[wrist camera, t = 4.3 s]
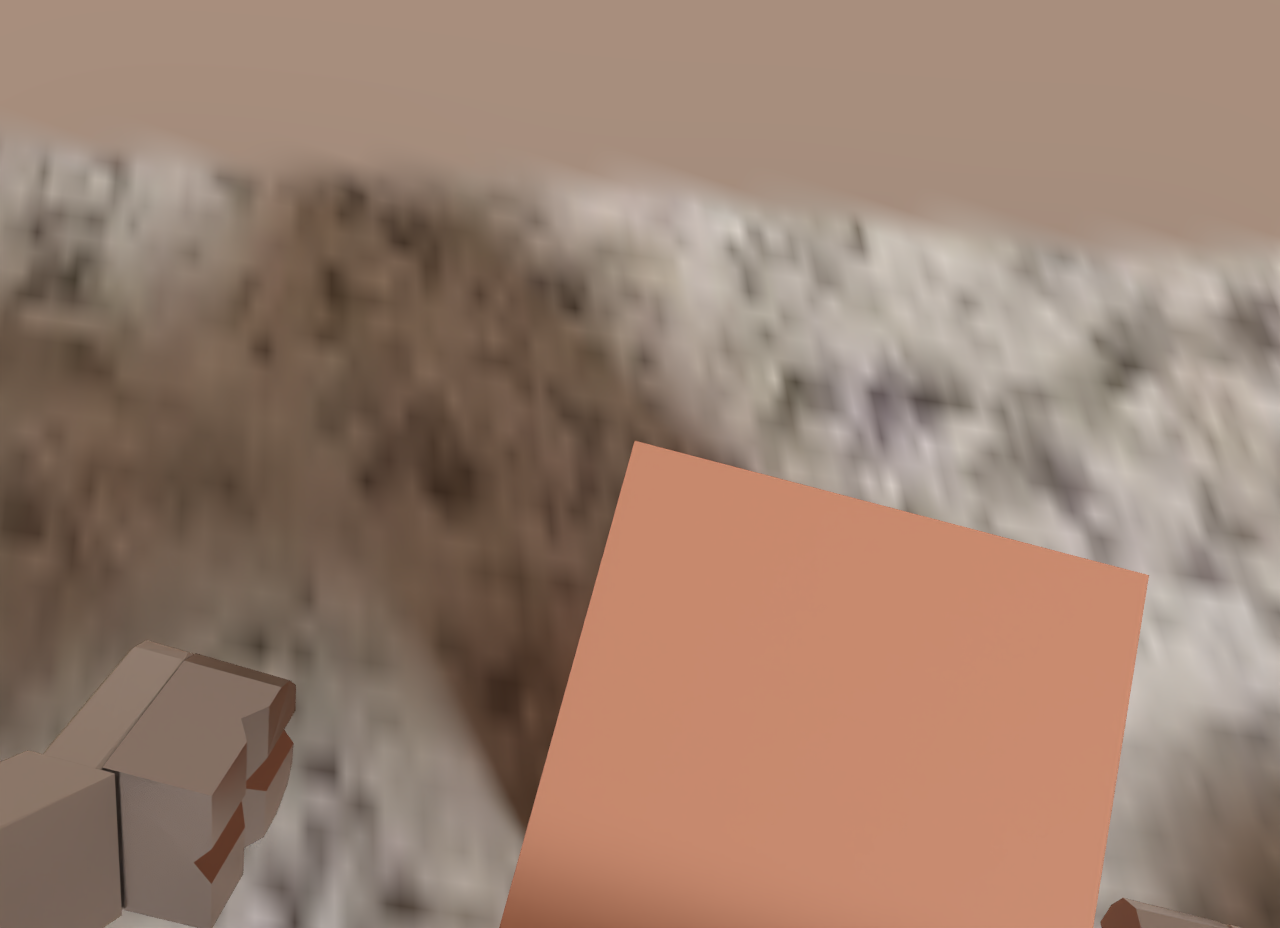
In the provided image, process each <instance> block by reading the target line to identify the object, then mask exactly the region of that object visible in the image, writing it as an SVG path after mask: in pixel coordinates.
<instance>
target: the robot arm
mask: <svg viewBox="0 0 1280 928" xmlns="http://www.w3.org/2000/svg"><path fill="white" fill-rule="evenodd" d="M295 710H296V685H295V684H294V683H293V682H291V681H290V680H287V679H283V678H280V677H276V676H273V675H269V674H266V673H262V672H259V671H256V670H252V669H249V668H245V667H242V666H238V665H235V664H231V663H228V662H224V661H221V660H217V659H214V658H211V657H207V656H204V655H200V654H197V653H195V654H193V653H190V652H186V651H183V650H179V649H176V648H172V647H169V646H165V645H162V644H159V643H155V642H152V641H148V640H146V641H144V642H142V643H141V644H139V645H137V646H135V647H134V648H132V649H131V650H130V651H129V652H128V653H127V655H126V656H125V657H124V658H123V659H122V660H121V662H120V663H119V664H118V665H117V666H116V668H115V669H114V670H113V671H112V672H111V674H110V675H109V676H108V677H107V678H106V679H105V681H104V682H103V683H102V684H101V685H100V687H99V688H98V689H97V690H96V691H95V692H94V694H93V695H92V696H91V697H90V698H89V700H88V701H87V702H86V703H85V704H84V705H83V707H82V708H81V709H80V710H79V711H78V713H77V714H76V715H75V716H74V717H73V718H72V720H71V721H70V722H69V723H68V724H67V726H66V727H65V728H64V729H63V730H62V732H61V733H60V734H59V735H58V736H57V737H56V739H55V740H54V741H53V742H52V743H51V745H50V746H49V747H48V748H47V749H46V750H45V752H44V753H43V754H41V753H37V752H33V751H28V750H27V751H25V752H22V753H20V754H18V755H15V756H13V757H11V758H8V759H6V760H4V761H1V762H0V928H104V927H105V926H107V925H108V924H110V923H111V922H113V921H114V920H116V919H117V918H119V917H120V916H121V915H122V910H126V911H130V912H134V913H138V914H142V915H146V916H151V917H155V918H159V919H163V920H167V921H172V922H176V923H180V924H184V925H188V926H192V927H197V928H213V926H214V924H215V923H216V921H217V919H218V917H219V915H220V914H221V912H222V910H223V908H224V907H225V905H226V903H227V901H228V900H229V898H230V896H231V894H232V893H233V891H234V889H235V887H236V886H237V884H238V882H239V880H240V879H241V877H242V875H243V866H244V848H245V847H247V846H248V845H250V844H252V843H254V842H256V841H258V840H259V839H261V838H263V837H264V836H265V834H266V832H267V830H268V828H269V827H270V825H271V823H272V821H273V819H274V817H275V815H276V814H277V811H278V808H279V806H280V803H281V800H282V798H283V795H284V792H285V790H286V787H287V784H288V780H289V775H290V770H291V766H292V759H293V745H294V743H293V742H292V740H291V739H290V738H289V736H288V735H287V733H286V732H285V730H284V729H285V727H286V726H287V724H288V722H289V721H290V719H291V717H292V716H293V714H294V712H295ZM1101 926H1102V928H1241V927H1238V926H1234V925H1225V924H1223V923H1221V922H1218V921H1214V920H1210V919H1206V918H1202V917H1198V916H1194V915H1190V914H1186V913H1182V912H1178V911H1174V910H1170V909H1166V908H1162V907H1158V906H1154V905H1150V904H1146V903H1142V902H1138V901H1134V900H1130V899H1126V898H1122V899H1120V900H1119V901H1117V902H1116V903H1114V904H1112V905H1111V907H1110V908H1109V910H1108V911H1107V913H1106V914H1105V916H1104V917H1103V919H1102V920H1101Z"/></svg>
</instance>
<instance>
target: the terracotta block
mask: <svg viewBox="0 0 1280 928" xmlns="http://www.w3.org/2000/svg"><path fill="white" fill-rule="evenodd" d="M1148 578H1149V575H1146V574H1142V573H1138V572H1134V571H1130V570H1126V569H1123V568H1119V567H1115V566H1111V565H1107V564H1104V563H1100V562H1096V561H1092V560H1088V559H1085V558H1081V557H1077V556H1073V555H1069V554H1065V553H1062V552H1058V551H1054V550H1050V549H1046V548H1043V547H1039V546H1035V545H1031V544H1027V543H1023V542H1020V541H1016V540H1012V539H1008V538H1004V537H1001V536H997V535H993V534H989V533H985V532H981V531H978V530H974V529H970V528H966V527H962V526H959V525H955V524H951V523H947V522H943V521H940V520H936V519H932V518H928V517H924V516H920V515H917V514H913V513H909V512H905V511H901V510H898V509H894V508H890V507H886V506H882V505H878V504H875V503H871V502H867V501H863V500H859V499H856V498H852V497H848V496H844V495H840V494H836V493H833V492H829V491H825V490H821V489H817V488H814V487H810V486H806V485H802V484H798V483H795V482H791V481H787V480H783V479H779V478H775V477H772V476H768V475H764V474H760V473H756V472H753V471H749V470H745V469H741V468H737V467H733V466H730V465H726V464H722V463H718V462H714V461H711V460H707V459H703V458H699V457H695V456H691V455H688V454H684V453H680V452H676V451H672V450H669V449H665V448H661V447H657V446H653V445H650V444H646V443H642V442H638V441H635V442H634V445H633V449H632V452H631V456H630V460H629V463H628V467H627V470H626V474H625V478H624V481H623V485H622V488H621V492H620V496H619V499H618V503H617V506H616V510H615V514H614V517H613V521H612V524H611V528H610V531H609V535H608V539H607V542H606V546H605V549H604V553H603V557H602V560H601V564H600V567H599V571H598V575H597V578H596V582H595V585H594V589H593V593H592V596H591V600H590V603H589V607H588V611H587V614H586V618H585V621H584V625H583V629H582V632H581V636H580V639H579V643H578V647H577V650H576V654H575V657H574V661H573V665H572V668H571V672H570V675H569V679H568V683H567V686H566V690H565V693H564V697H563V701H562V704H561V708H560V711H559V715H558V719H557V722H556V726H555V729H554V733H553V737H552V740H551V744H550V747H549V751H548V755H547V758H546V762H545V765H544V769H543V773H542V776H541V780H540V783H539V787H538V791H537V794H536V798H535V801H534V805H533V809H532V812H531V816H530V819H529V823H528V827H527V830H526V834H525V837H524V841H523V845H522V848H521V852H520V855H519V859H518V862H517V866H516V870H515V873H514V877H513V880H512V884H511V888H510V891H509V895H508V898H507V902H506V906H505V909H504V913H503V916H502V920H501V924H500V927H499V928H1093V925H1094V918H1095V912H1096V906H1097V899H1098V893H1099V887H1100V880H1101V874H1102V868H1103V861H1104V855H1105V849H1106V843H1107V836H1108V830H1109V824H1110V817H1111V811H1112V805H1113V798H1114V792H1115V786H1116V779H1117V773H1118V767H1119V761H1120V754H1121V748H1122V742H1123V735H1124V729H1125V723H1126V716H1127V710H1128V704H1129V697H1130V691H1131V685H1132V679H1133V672H1134V666H1135V660H1136V653H1137V647H1138V641H1139V634H1140V628H1141V622H1142V615H1143V609H1144V603H1145V597H1146V590H1147V584H1148Z"/></svg>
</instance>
